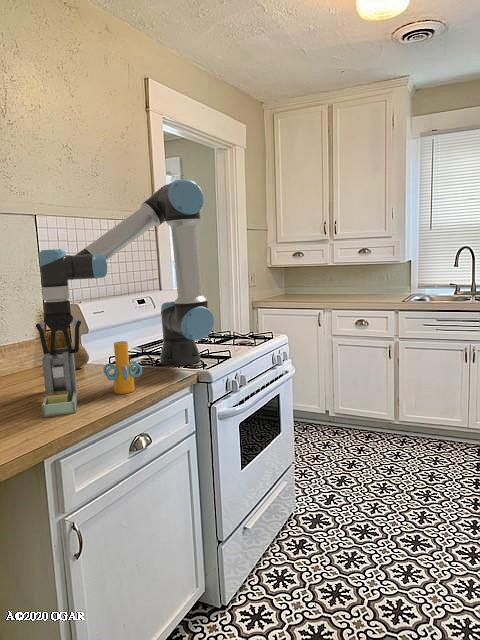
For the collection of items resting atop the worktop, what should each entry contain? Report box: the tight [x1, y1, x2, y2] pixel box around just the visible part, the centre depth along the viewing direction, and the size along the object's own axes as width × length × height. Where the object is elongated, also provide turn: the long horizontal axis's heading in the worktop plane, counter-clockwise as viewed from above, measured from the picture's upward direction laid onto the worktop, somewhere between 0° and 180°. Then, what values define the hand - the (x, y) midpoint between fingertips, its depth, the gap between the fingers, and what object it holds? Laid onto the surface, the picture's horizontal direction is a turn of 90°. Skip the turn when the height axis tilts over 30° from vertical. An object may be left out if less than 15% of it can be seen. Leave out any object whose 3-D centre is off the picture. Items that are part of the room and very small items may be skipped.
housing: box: [42, 352, 79, 402], centre depth 139 cm, size 8×9×15 cm
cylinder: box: [103, 340, 143, 395], centre depth 147 cm, size 12×10×15 cm
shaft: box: [52, 347, 69, 378], centre depth 146 cm, size 6×22×6 cm, turn 16°
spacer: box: [47, 390, 70, 404], centre depth 133 cm, size 5×4×4 cm
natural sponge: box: [64, 341, 90, 370], centre depth 183 cm, size 9×9×10 cm
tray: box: [41, 392, 78, 418], centre depth 133 cm, size 8×11×3 cm
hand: (64, 375), depth 153 cm, fingers closed on shaft, 3 cm apart
